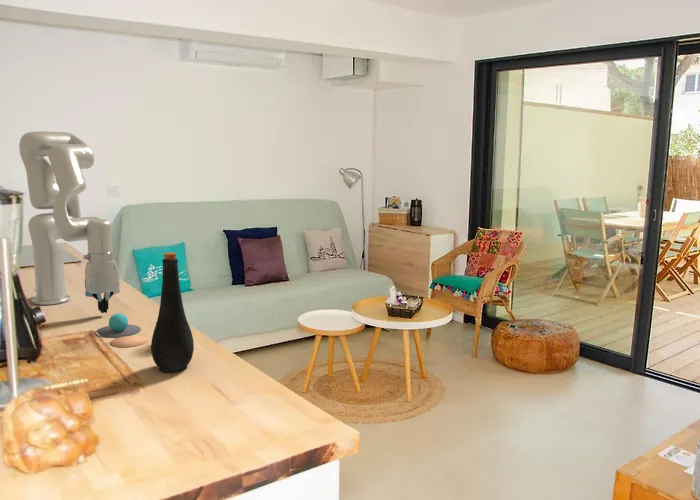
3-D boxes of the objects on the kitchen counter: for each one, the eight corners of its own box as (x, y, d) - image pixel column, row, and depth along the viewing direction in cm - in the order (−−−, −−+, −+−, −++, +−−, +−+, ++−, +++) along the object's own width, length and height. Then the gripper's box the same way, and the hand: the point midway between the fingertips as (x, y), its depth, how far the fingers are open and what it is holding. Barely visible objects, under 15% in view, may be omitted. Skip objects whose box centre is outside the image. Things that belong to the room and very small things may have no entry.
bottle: (182, 377, 151) (179, 258, 146) (143, 373, 153) (139, 255, 148) (201, 362, 161) (199, 251, 156) (164, 359, 163) (161, 248, 158)
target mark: (86, 331, 185) (86, 331, 185) (124, 322, 196) (124, 321, 195) (111, 340, 178) (111, 339, 178) (149, 330, 188) (149, 329, 188)
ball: (103, 316, 186) (108, 320, 181) (121, 308, 189) (126, 312, 184) (111, 332, 188) (115, 336, 183) (128, 324, 190) (133, 328, 186)
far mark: (103, 342, 176) (103, 341, 176) (133, 334, 184) (133, 333, 184) (123, 349, 170) (123, 349, 170) (153, 341, 178) (153, 340, 178)
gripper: (78, 261, 191) (81, 317, 195) (127, 257, 200) (129, 311, 203) (73, 257, 198) (76, 312, 201) (121, 253, 206) (123, 306, 209)
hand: (103, 311), depth 202 cm, fingers closed
